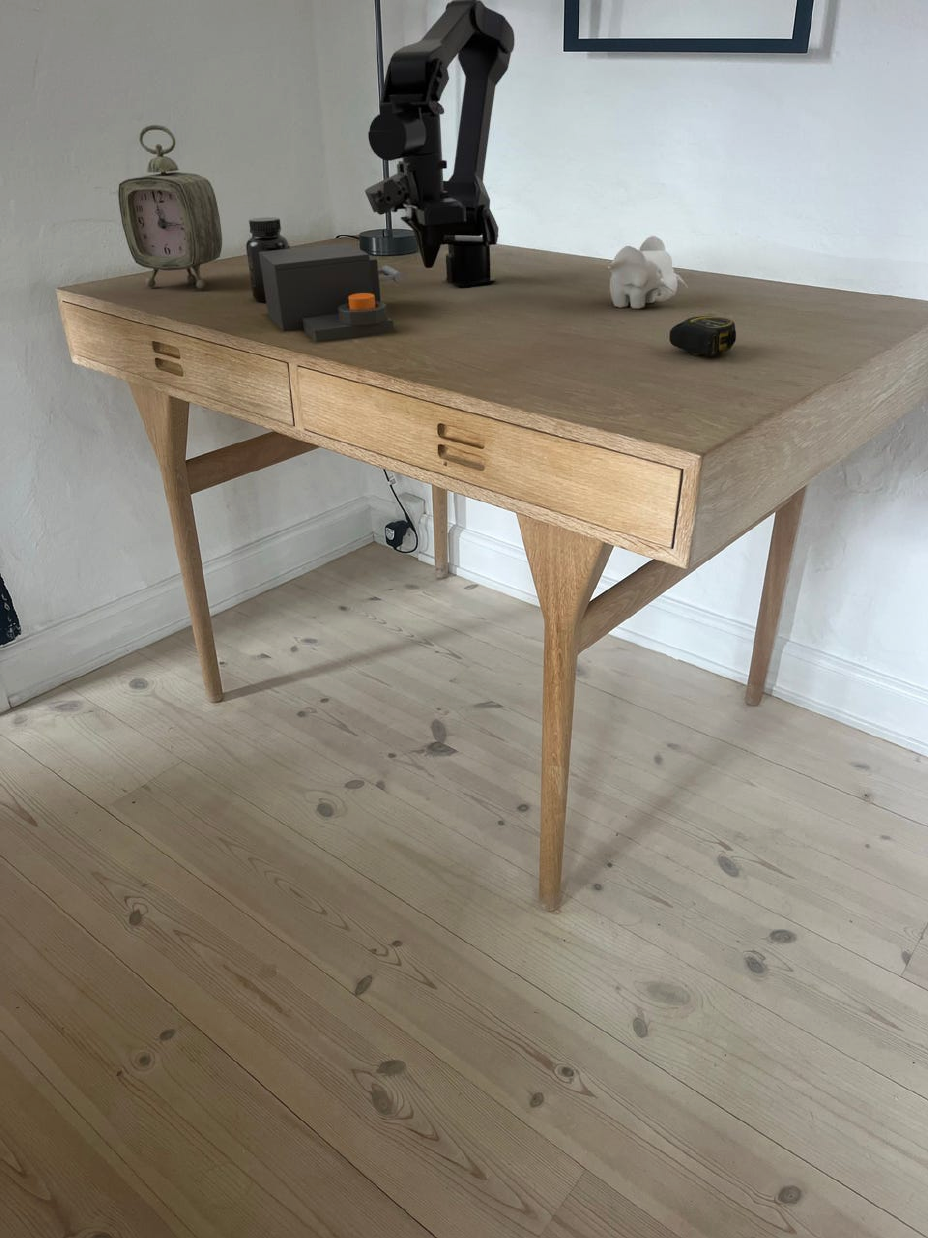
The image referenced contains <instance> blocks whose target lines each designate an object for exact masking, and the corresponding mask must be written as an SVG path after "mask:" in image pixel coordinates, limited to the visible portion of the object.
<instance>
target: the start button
mask: <svg viewBox="0 0 928 1238" xmlns="http://www.w3.org/2000/svg"><path fill="white" fill-rule="evenodd" d="M348 299H349V309H352V310H365V309H372V308H375V296H374V294H370V293H358V294H353V295H350V296H349V297H348Z"/></svg>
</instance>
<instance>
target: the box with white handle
mask: <svg viewBox="0 0 928 1238" xmlns="http://www.w3.org/2000/svg"><path fill="white" fill-rule="evenodd" d="M369 258H370V270H371V281H372V292H373V294H374V296H375V301H377V302H382V301H381V300H382V299H381V289H380V282H386V281H394V282H395V283H402V281H403V280H404V275H403V273H402V272H400V271H398V270H397V269H395V268H393V267H391V266H389V265H387V264H386V265H383V266H382V267H381V268H379V265H378V264H379V263H378V259H377V258H375V257H373V256H372V255H370V254H369ZM382 274H383V275H382ZM379 275H381V276H379Z"/></svg>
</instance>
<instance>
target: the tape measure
mask: <svg viewBox="0 0 928 1238" xmlns="http://www.w3.org/2000/svg"><path fill="white" fill-rule="evenodd" d="M736 340H737V331H736V324H735V322H734V321H733V320H731V319H730V318H727V317H722V316H715V315H700V316H692V317H689V318H687V319H685V320H683V321H682V322H679V323H677V324H676V325H673V326H672V328H671V329H670V330H669V340H668V341H669V343H670V344H671V345H672V346H673V347H675V348H677V349H680V350H684V351H686V352H691V353H692V354H693V355H694V356H695V355H697V356H698V355H704V356H708V357H712V356H714V355H716V354H720V353H726V352H729V351H730V350H731V349H732V347H733V346H734V344H735V343H736Z"/></svg>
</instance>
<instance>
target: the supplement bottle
mask: <svg viewBox="0 0 928 1238" xmlns="http://www.w3.org/2000/svg"><path fill="white" fill-rule="evenodd" d="M248 224H249V233H250V234H251V237H250V238H249V239H247V241H246V244H245V249H246V257H247V265H248V271H249V278H250V285H251V291H252V293H251V294H252V298H253V299H254V300H255V301H257V302H261V303H266V298H265V291H264V284H263V277H262V270H261V264H260V257H259V252H263V251H273V250H282V249H291V248H290V247H291V246H290V242H289V240H288V239H287V238H286V236H283V235H282V234H281V232H282V226H281V218H279V217H273V216H272V217H268V216H267V217H266V216H265V217H256V218H255V217H254V218H250V219H249V220H248Z"/></svg>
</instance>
